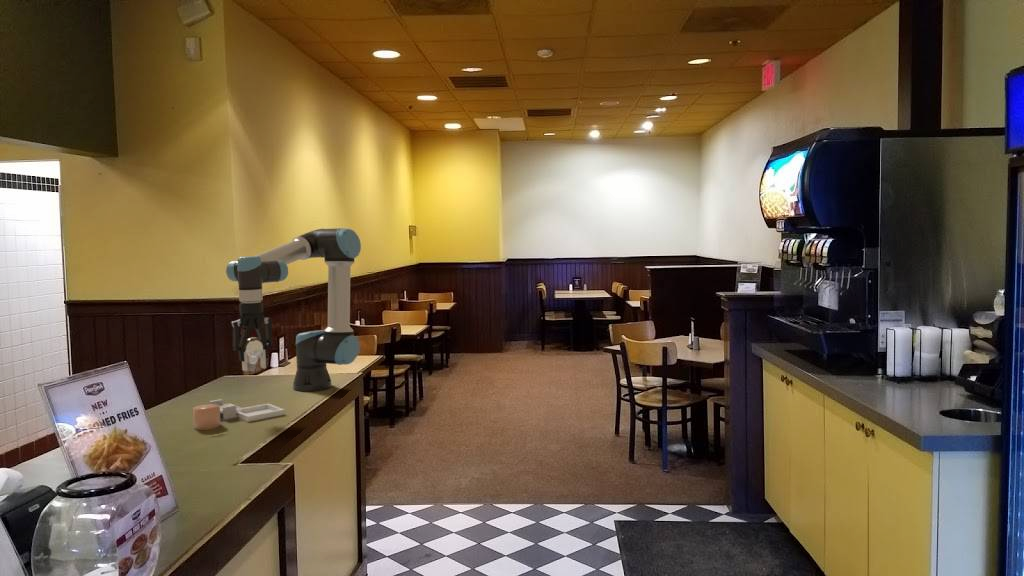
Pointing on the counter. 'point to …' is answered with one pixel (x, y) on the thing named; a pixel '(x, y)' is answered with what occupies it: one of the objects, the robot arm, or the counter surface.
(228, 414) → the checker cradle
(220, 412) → the plate
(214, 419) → the peach rounded pebble
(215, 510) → the counter surface
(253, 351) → the light bulb
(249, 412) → the tray
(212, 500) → the counter surface
